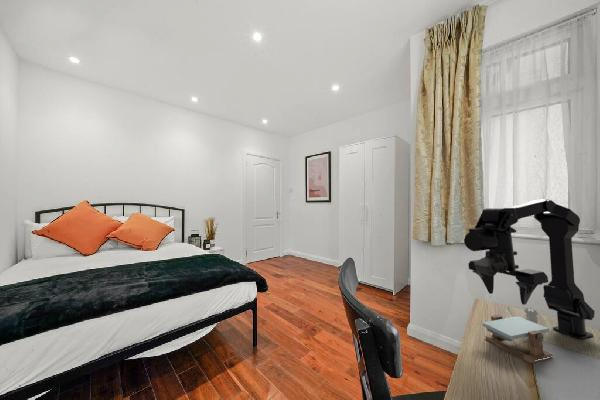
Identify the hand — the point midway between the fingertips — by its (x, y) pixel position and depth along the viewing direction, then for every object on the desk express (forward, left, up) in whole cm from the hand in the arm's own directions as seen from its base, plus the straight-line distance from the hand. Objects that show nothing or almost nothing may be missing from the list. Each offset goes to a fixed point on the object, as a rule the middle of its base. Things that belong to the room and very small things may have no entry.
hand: (506, 298), depth 69 cm
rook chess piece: (-13, -3, -14) cm, 19 cm away
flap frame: (0, +1, -14) cm, 14 cm away
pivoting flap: (0, +2, -9) cm, 9 cm away
